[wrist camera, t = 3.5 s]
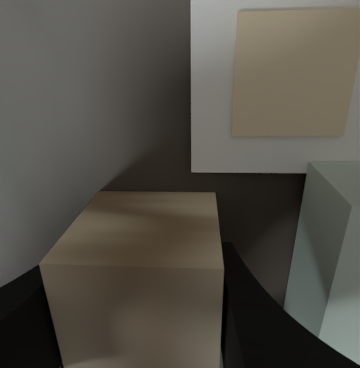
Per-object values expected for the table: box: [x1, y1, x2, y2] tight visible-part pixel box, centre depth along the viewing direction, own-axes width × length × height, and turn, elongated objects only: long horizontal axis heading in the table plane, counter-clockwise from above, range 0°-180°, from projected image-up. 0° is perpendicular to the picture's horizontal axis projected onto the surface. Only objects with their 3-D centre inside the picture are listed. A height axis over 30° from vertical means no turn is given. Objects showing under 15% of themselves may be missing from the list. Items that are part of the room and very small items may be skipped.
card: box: [191, 0, 360, 173], centre depth 10 cm, size 7×7×1 cm
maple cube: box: [39, 191, 224, 368], centre depth 11 cm, size 5×5×5 cm
